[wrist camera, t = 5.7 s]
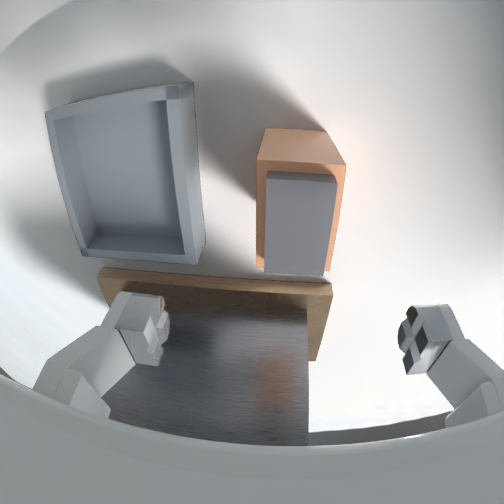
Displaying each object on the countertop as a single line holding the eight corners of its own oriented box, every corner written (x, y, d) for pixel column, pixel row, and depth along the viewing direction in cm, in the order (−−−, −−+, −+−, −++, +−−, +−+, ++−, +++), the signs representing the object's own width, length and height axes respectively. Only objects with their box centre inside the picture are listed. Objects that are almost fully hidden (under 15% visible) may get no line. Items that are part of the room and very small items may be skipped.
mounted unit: (331, 283, 25) (347, 476, 12) (314, 350, 31) (315, 495, 18) (103, 267, 27) (21, 406, 14) (129, 331, 33) (80, 451, 20)
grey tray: (193, 81, 17) (178, 85, 14) (205, 241, 24) (196, 264, 22) (68, 103, 18) (44, 112, 15) (98, 236, 25) (82, 255, 23)
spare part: (326, 131, 18) (351, 173, 11) (318, 210, 21) (331, 283, 15) (265, 127, 18) (254, 167, 12) (264, 207, 22) (254, 279, 15)
